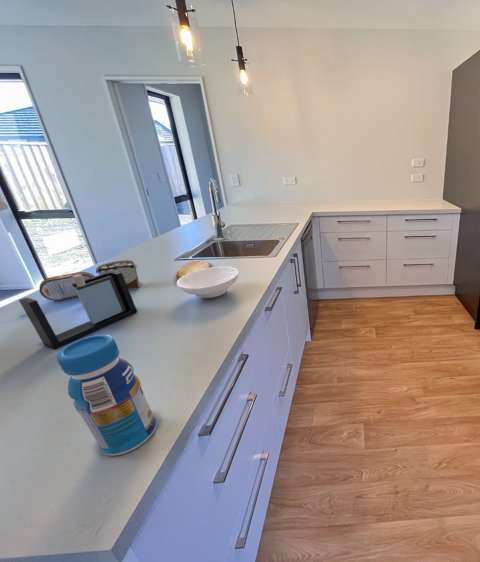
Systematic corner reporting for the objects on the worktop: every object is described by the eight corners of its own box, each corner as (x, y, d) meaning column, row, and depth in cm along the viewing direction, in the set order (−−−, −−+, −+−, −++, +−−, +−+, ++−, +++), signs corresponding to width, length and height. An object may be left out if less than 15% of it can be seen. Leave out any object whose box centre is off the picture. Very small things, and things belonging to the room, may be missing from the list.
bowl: (168, 303, 102) (162, 284, 99) (212, 280, 119) (208, 264, 116) (214, 310, 97) (209, 291, 94) (253, 285, 114) (250, 269, 111)
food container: (148, 281, 120) (140, 257, 116) (144, 287, 115) (135, 263, 110) (111, 286, 116) (101, 262, 112) (104, 293, 111) (93, 268, 106)
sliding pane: (94, 324, 87) (72, 277, 81) (91, 323, 88) (69, 277, 82) (126, 310, 94) (108, 266, 88) (123, 309, 95) (104, 266, 89)
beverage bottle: (87, 454, 51) (30, 361, 43) (131, 414, 59) (89, 328, 51) (130, 461, 50) (79, 366, 42) (169, 419, 58) (133, 332, 49)
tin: (101, 289, 114) (92, 268, 111) (101, 291, 112) (92, 271, 108) (46, 301, 105) (34, 279, 102) (45, 304, 103) (33, 282, 100)
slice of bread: (198, 263, 138) (196, 255, 136) (226, 268, 131) (224, 260, 129) (159, 277, 123) (156, 269, 122) (187, 284, 116) (184, 275, 114)
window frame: (54, 349, 79) (28, 303, 73) (44, 345, 81) (18, 299, 75) (137, 312, 97) (121, 272, 91) (127, 309, 99) (111, 270, 93)
